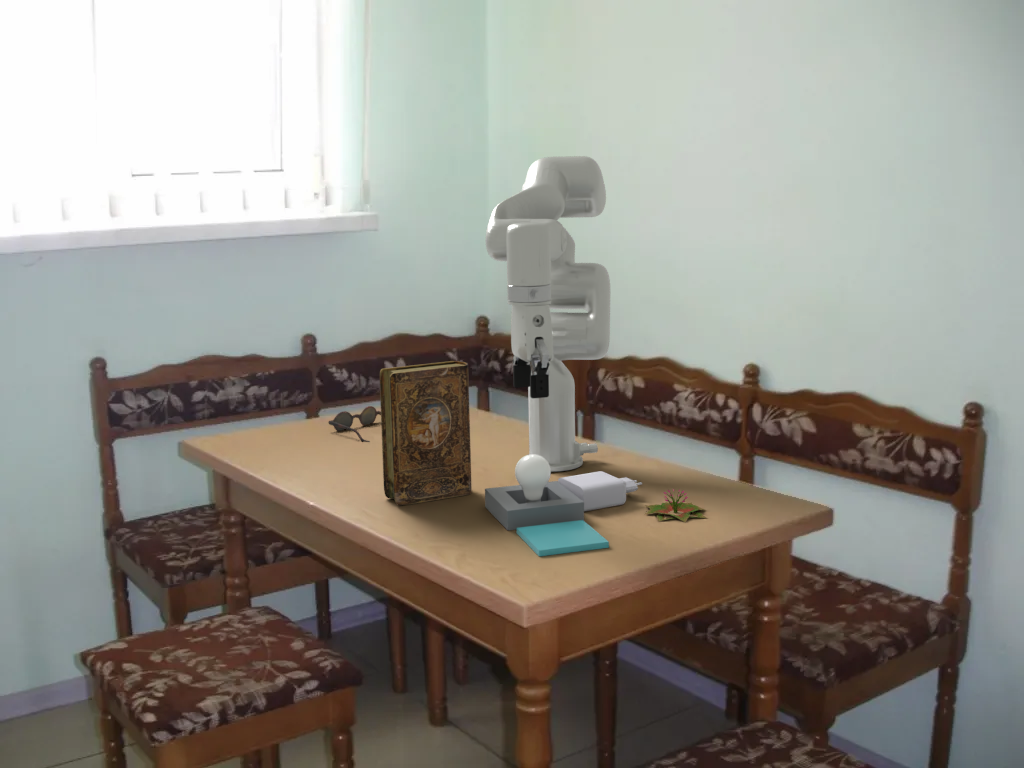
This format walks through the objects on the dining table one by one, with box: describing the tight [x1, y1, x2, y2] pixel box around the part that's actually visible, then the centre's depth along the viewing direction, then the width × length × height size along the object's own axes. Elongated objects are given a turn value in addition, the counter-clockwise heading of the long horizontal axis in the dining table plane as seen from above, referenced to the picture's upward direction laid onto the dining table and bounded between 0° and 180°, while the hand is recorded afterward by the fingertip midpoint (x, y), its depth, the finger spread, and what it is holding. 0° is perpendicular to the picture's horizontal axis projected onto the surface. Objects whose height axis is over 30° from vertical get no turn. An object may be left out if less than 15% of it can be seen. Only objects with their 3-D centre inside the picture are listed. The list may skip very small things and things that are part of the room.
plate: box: [516, 520, 610, 557], centre depth 189 cm, size 12×12×1 cm
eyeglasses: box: [328, 405, 381, 443], centre depth 266 cm, size 15×15×5 cm
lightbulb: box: [514, 454, 552, 503], centre depth 202 cm, size 6×6×11 cm
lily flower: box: [644, 489, 707, 524], centre depth 202 cm, size 12×12×5 cm
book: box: [379, 360, 473, 506], centre depth 212 cm, size 16×6×25 cm, turn 117°
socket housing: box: [484, 480, 585, 531], centre depth 203 cm, size 14×14×4 cm
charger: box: [557, 470, 643, 513], centre depth 210 cm, size 5×9×15 cm
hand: (530, 392), depth 199 cm, fingers open, 9 cm apart
